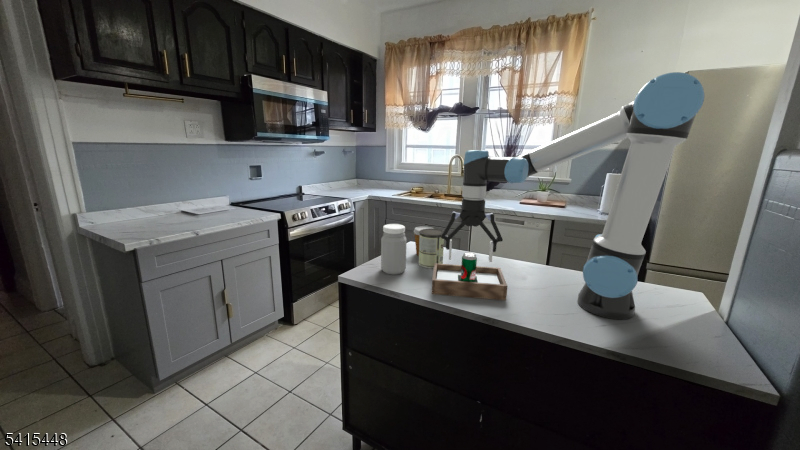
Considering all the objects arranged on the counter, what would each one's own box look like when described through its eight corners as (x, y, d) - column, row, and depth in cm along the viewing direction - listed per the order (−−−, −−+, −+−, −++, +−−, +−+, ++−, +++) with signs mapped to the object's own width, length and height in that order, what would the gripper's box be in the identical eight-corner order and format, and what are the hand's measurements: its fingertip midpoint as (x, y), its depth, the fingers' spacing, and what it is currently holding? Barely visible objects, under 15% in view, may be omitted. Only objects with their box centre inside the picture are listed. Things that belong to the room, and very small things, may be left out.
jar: (388, 264, 134) (389, 222, 129) (409, 268, 130) (411, 225, 125) (376, 272, 125) (376, 227, 121) (398, 277, 121) (399, 230, 117)
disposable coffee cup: (438, 255, 146) (439, 230, 143) (420, 259, 141) (421, 232, 138) (425, 249, 153) (427, 225, 151) (408, 252, 149) (409, 227, 146)
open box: (498, 280, 120) (500, 267, 119) (505, 300, 105) (507, 286, 103) (433, 275, 123) (434, 263, 122) (431, 294, 108) (432, 280, 107)
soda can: (471, 291, 111) (474, 258, 108) (457, 287, 113) (460, 255, 110) (476, 286, 115) (479, 254, 112) (462, 282, 117) (465, 251, 114)
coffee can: (418, 259, 141) (419, 227, 137) (442, 260, 140) (444, 229, 136) (417, 268, 131) (418, 234, 127) (443, 269, 130) (445, 235, 126)
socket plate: (495, 281, 119) (496, 274, 118) (501, 298, 106) (502, 289, 105) (437, 277, 122) (437, 269, 121) (435, 292, 109) (436, 284, 108)
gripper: (511, 197, 108) (505, 257, 113) (436, 195, 112) (434, 254, 117) (515, 201, 101) (509, 265, 106) (435, 198, 104) (433, 261, 109)
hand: (469, 259), depth 111 cm, fingers open, 13 cm apart
